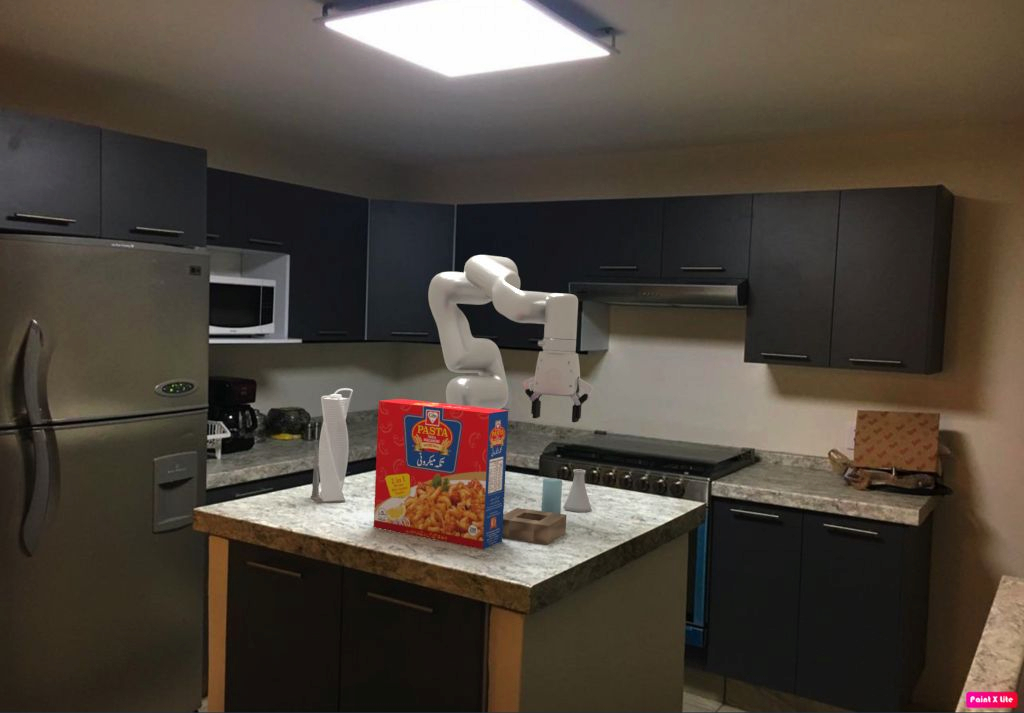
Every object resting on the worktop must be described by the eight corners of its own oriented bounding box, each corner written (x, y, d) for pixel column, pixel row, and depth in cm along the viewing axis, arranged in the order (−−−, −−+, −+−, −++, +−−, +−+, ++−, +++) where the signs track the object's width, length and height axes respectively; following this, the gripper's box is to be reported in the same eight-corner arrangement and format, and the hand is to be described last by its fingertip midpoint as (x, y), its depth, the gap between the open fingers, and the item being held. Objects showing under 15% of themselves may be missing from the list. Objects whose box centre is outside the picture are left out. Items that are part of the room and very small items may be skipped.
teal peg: (538, 523, 197) (540, 480, 197) (544, 519, 201) (546, 477, 201) (556, 525, 195) (558, 482, 195) (562, 521, 199) (564, 479, 199)
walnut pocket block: (495, 536, 183) (496, 518, 183) (516, 525, 194) (516, 507, 194) (547, 544, 178) (548, 525, 178) (565, 532, 189) (566, 514, 189)
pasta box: (373, 527, 186) (378, 401, 185) (395, 520, 193) (400, 398, 192) (482, 549, 172) (489, 413, 171) (502, 541, 179) (508, 410, 178)
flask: (589, 514, 209) (592, 473, 209) (561, 511, 211) (563, 471, 210) (593, 508, 216) (595, 469, 216) (565, 505, 218) (567, 466, 217)
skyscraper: (343, 495, 216) (348, 386, 215) (352, 502, 209) (356, 389, 208) (310, 497, 212) (314, 386, 211) (317, 504, 205) (322, 389, 204)
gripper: (519, 344, 196) (515, 417, 197) (590, 349, 190) (586, 425, 190) (530, 344, 203) (527, 415, 204) (599, 348, 197) (595, 421, 197)
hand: (555, 419), depth 197 cm, fingers open, 9 cm apart
